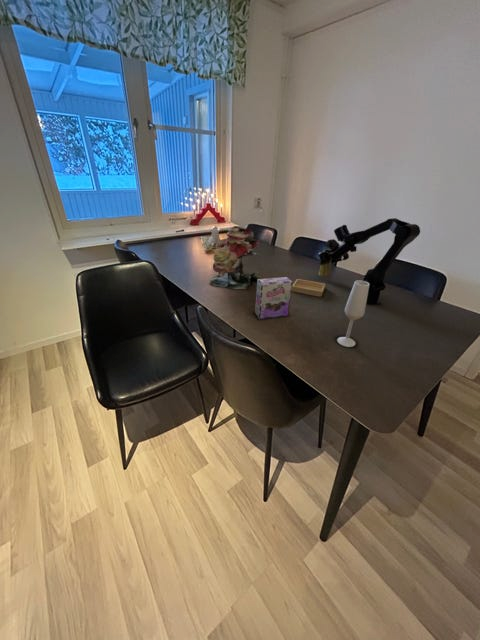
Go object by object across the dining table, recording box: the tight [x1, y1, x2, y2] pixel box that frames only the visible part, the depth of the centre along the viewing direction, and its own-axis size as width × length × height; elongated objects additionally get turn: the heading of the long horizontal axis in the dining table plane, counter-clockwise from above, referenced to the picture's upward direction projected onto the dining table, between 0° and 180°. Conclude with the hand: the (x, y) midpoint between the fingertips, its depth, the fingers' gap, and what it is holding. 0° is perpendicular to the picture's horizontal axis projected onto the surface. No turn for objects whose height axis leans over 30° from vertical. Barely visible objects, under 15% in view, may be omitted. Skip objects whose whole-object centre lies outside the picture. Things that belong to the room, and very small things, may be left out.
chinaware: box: [199, 225, 222, 252], centre depth 209 cm, size 28×17×17 cm, turn 17°
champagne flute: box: [336, 279, 369, 348], centre depth 98 cm, size 7×7×24 cm
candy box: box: [254, 276, 293, 320], centre depth 117 cm, size 14×6×16 cm, turn 105°
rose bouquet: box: [209, 225, 262, 290], centre depth 146 cm, size 26×29×30 cm
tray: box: [291, 278, 327, 298], centre depth 145 cm, size 16×12×3 cm
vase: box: [318, 249, 332, 278], centre depth 155 cm, size 6×6×14 cm
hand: (324, 263), depth 156 cm, fingers closed on vase, 5 cm apart
